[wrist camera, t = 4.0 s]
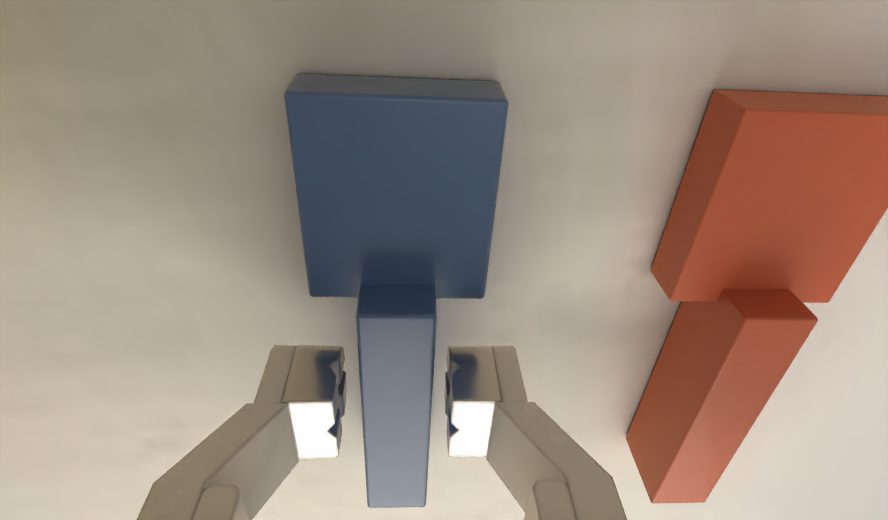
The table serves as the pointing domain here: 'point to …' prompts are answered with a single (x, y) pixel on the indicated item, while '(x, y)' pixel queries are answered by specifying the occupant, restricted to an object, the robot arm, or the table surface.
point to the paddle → (396, 236)
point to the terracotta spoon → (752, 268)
